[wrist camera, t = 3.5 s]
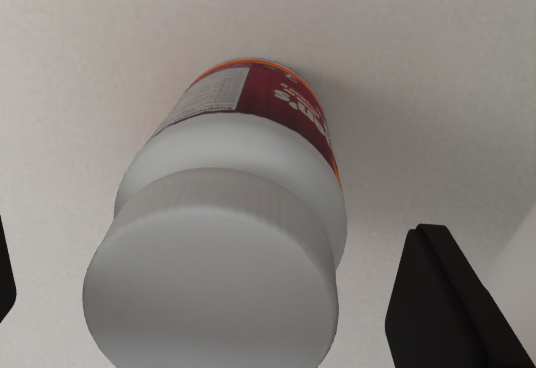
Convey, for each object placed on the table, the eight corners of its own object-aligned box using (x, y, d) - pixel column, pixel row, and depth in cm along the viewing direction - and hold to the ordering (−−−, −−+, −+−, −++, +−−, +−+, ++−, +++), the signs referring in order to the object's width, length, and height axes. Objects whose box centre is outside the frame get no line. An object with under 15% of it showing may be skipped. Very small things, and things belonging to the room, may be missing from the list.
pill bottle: (351, 151, 19) (422, 363, 9) (231, 216, 21) (181, 456, 11) (274, 22, 17) (259, 114, 7) (147, 105, 19) (-13, 278, 9)
